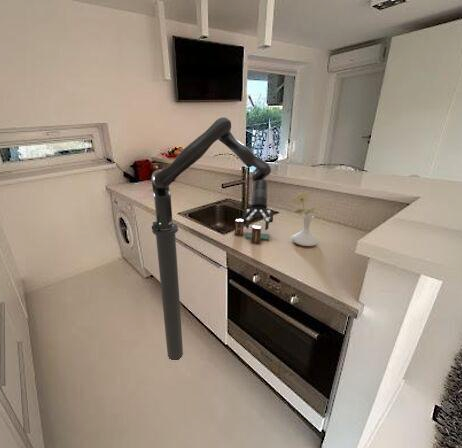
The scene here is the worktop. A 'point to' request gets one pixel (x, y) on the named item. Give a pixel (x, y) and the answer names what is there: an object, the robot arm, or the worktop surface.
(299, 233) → the flower in vase
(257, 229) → the brown white-topped cylinder
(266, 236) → the word mat
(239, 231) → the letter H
